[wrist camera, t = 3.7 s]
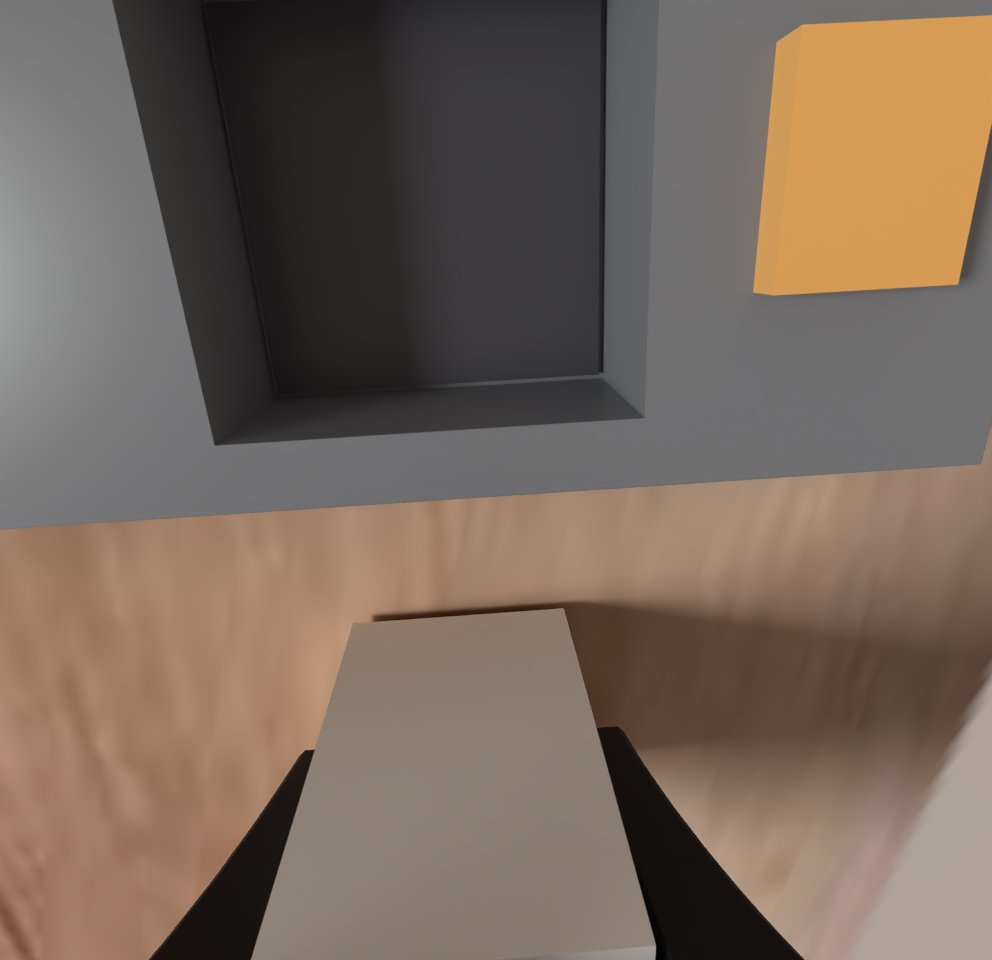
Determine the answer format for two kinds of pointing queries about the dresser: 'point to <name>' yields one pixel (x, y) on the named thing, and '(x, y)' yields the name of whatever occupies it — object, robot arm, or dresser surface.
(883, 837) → the dresser surface
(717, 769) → the dresser surface
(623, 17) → the power strip
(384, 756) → the block
